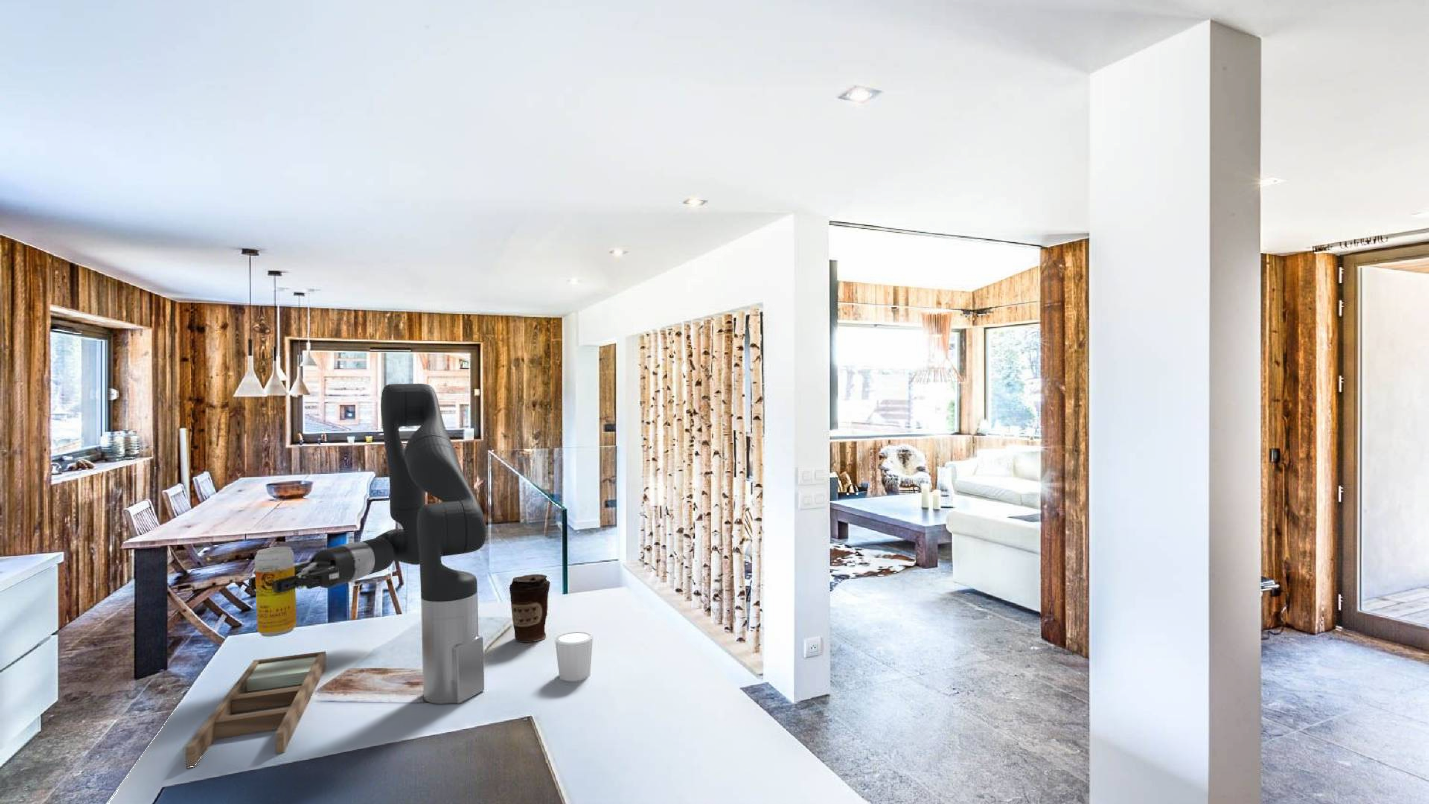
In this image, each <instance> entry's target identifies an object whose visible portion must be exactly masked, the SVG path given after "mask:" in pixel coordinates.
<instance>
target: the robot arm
mask: <svg viewBox="0 0 1429 804" xmlns="http://www.w3.org/2000/svg"><path fill="white" fill-rule="evenodd" d="M439 404H440V403H439V400H438V396H437V393H436V390H434V388H433V386H432V385H430V384H427V383H426V384H425V383H389V384H388V383H387V384H386V385H385V386H384V387H383V389H382V392H381V396H380V412H381V413H380V414H381V415H380V417H381V422H382V423H381V424H382V432H383V433H382V434H383V442H384V449H385V450H384V451H385V455H386V457H385V458H386V462H387V469H388V477H389V480H388V481H389V513H390V518H391V519H392V520H393V521H395V522H397V523H398V524H400V526H401V527H402V528H392V529H389V530H387V531H385V532H383V533H380V534H379V535H377V536H376V537H374V538H369V539H366V540H362V541H357V542H356V541H355V542H349V543H348V542H347V543H344V544H340V545H336V546H333V547H328V548H324V549H319V550H318V551H316V552H315V553H314V554H313V556H312V557H311V560H310V561H307V560H306V561H302V562H301V561H300V562H298V563H296V564H295V563H294V567H295V576H291V577H288V578H284V579H279V580H276V581H274V592H275V593H281V592H285V591H288V590H292V589H295V590H297V589H298V590H302V589H304V588H306V589H308V590H311V589H314V588H317V587H320V588H322V589H330V588H334V587H337V586H342V585H344V584H347V583H350V582H354V581H357V580H359V579H362V578H363V577H367V576H369V575H373V574H375V573H379V572H382V571H384V570H387V569H388V568H389V567H390V566H392V564H393V563H394V562H400V563H405V564H409V565H412V566H413V565H414V566H419V577H420V579H419V580H420V605H421V608H420V610H421V611H420V613H421V649H422V654H421V656H422V658H421V659H422V687H423V688H422V690H423V691H422V692H423V693H422V694H424V697H423V699H424V701H426V702H427V703H432V704H437V705H438V704H441V705H442V704H460V703H462V702H465V701H466V700H469V699H470V698H472V697H474V696H476V695H478V694H479V693H481V692H483V691H485V672H484V671H485V666H484V664H485V663H484V661H485V660H484V638H483V636H482V635H479V610H478V608H479V604H478V602H479V600H478V598H479V597H478V579H477V577H476V575H474V574H473V573H471V572H468V571H462V570H457V569H453V568H450V567H448V566H446V565H444V564H443V563H442V557H448V556H456V555H463V554H469V553H473V552H476V551H479V550H480V549H481V548H483V546H484V544H485V543H486V538H487V524H486V519H485V515H484V512H483V511H482V507H481V506H480V503H479V501H478V499H477V498H476V496H475V494H474V493H473V490H472V488H471V487H470V486H469V483H468V482H467V480H466V477H465V476H464V472H463V470H462V467H461V464H460V461H459V458H458V457H459V456H458V455H457V452H456V450H455V447H454V445H453V443H452V440H451V438H450V436H449V433H448V430H447V429H446V426H445V422H444V420H443V415H442V413H441V408H440V405H439ZM400 427H403V428H404V427H418V429H417V430H416V431H414V432H413V434H412V435H411V436H410V438H409V439H408V441H407V442H406V444H405V447H404V445H403V443H402V439H401V435H400V430H399V429H400ZM425 493H427V494H429V495H430V496H432V497H434V498H435V499H437V500H440V501H441V502H434V503H426V502H425V499H426V498H425V497H426V495H425ZM425 503H426V504H425ZM248 589H249V590H251V591H256V580H255V576H252V577H250V578H249V579H248Z"/></svg>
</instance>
